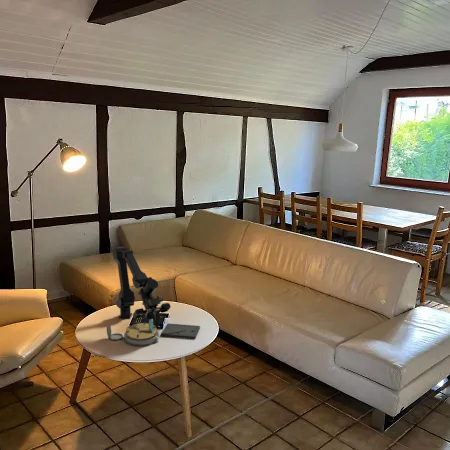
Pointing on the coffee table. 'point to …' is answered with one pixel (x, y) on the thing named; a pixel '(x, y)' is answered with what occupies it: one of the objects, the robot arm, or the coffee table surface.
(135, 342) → the dark grey round disc
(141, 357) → the coffee table surface
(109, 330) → the pocket watch
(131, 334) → the tan round piece
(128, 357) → the coffee table surface
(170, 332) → the picture frame
